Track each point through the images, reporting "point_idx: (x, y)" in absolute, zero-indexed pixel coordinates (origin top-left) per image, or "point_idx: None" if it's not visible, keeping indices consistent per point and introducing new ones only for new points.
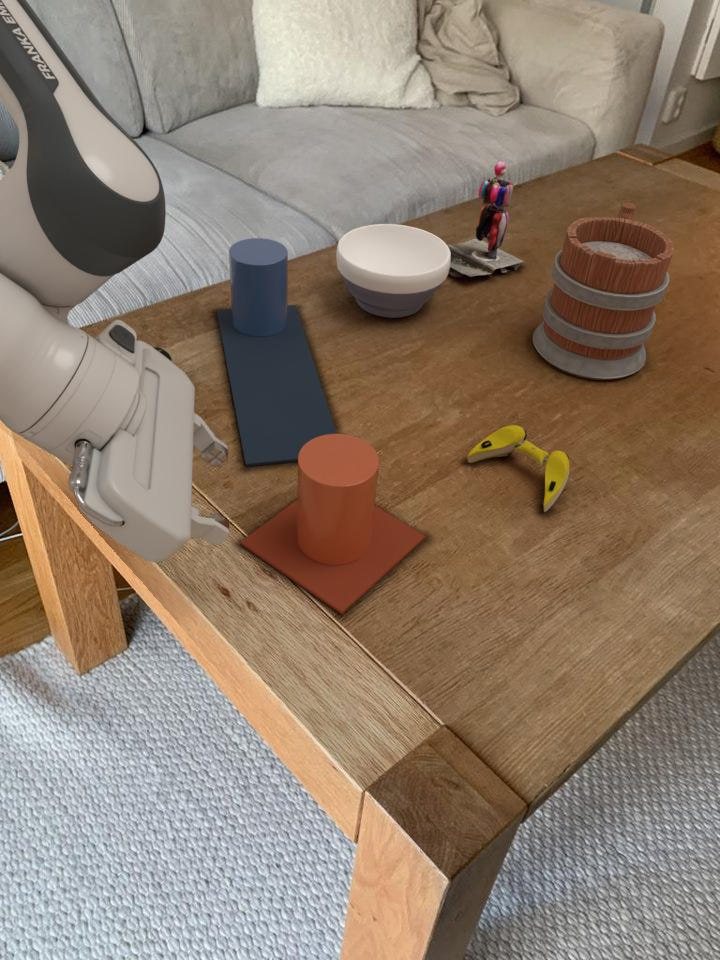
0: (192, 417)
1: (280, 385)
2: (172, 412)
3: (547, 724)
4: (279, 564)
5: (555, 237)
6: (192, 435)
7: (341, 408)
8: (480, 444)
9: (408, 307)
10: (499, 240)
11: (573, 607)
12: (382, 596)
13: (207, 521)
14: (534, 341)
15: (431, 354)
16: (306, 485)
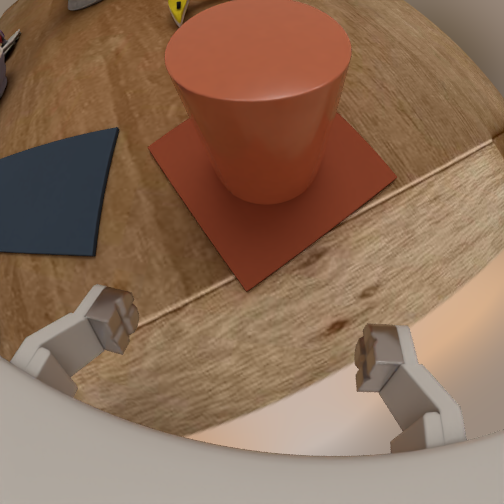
0: (30, 386)
1: (7, 194)
2: (32, 477)
3: (476, 79)
4: (306, 239)
5: (17, 23)
6: (103, 420)
7: (54, 131)
8: (174, 10)
9: (1, 78)
10: (1, 33)
11: (375, 17)
12: (368, 128)
13: (430, 385)
14: (79, 7)
15: (44, 64)
16: (304, 114)
